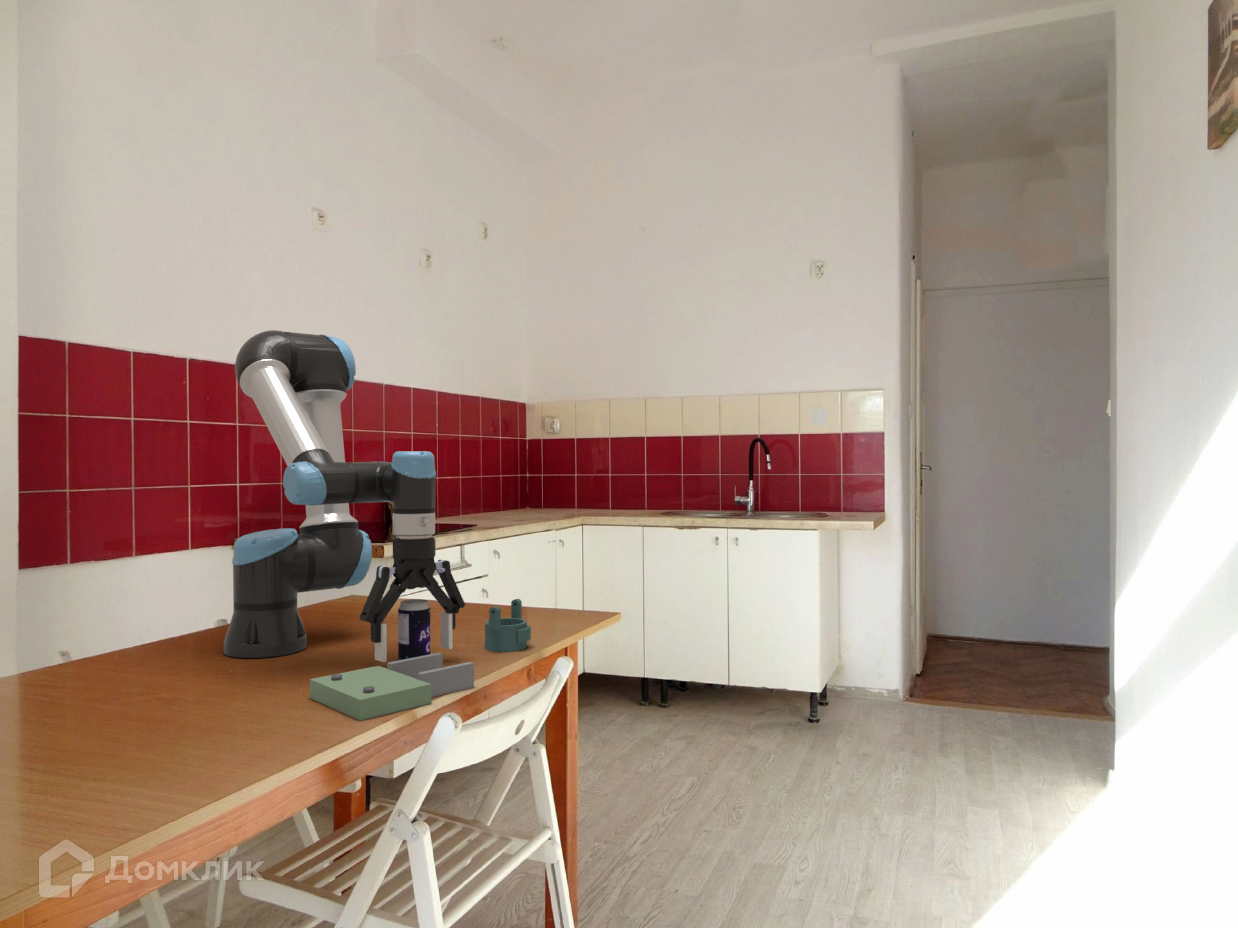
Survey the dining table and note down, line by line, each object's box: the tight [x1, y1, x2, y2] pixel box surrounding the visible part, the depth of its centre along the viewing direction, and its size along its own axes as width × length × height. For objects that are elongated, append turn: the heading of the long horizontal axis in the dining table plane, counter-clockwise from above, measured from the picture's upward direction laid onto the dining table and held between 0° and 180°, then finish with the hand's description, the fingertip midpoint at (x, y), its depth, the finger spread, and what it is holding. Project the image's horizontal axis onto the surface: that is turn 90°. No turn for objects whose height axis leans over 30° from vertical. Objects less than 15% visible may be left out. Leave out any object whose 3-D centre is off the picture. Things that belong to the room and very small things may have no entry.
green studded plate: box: [309, 652, 475, 722], centre depth 136 cm, size 16×22×4 cm
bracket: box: [484, 598, 532, 653], centre depth 170 cm, size 9×9×9 cm
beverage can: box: [397, 598, 431, 661], centre depth 153 cm, size 6×6×12 cm
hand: (414, 654), depth 153 cm, fingers open, 13 cm apart
